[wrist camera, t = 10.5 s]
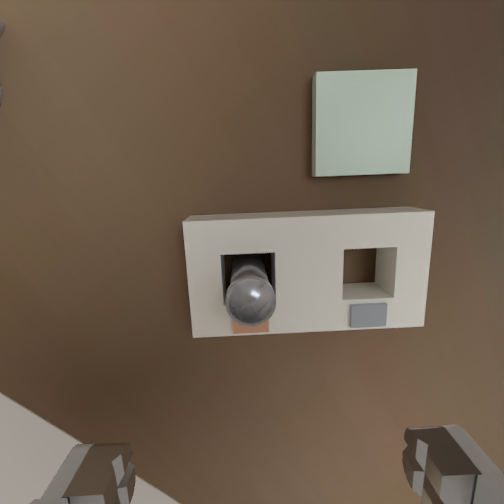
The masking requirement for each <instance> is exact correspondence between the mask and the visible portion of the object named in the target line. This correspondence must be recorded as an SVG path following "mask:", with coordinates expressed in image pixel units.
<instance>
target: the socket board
mask: <svg viewBox="0 0 504 504" xmlns="http://www.w3.org/2000/svg"><path fill="white" fill-rule="evenodd" d="M434 215H435V211H432V210H426V209H421V208H415V207H410V206H405V207H381V208H357V209H333V210H309V211H285V212H261V213H237V214H214V215H190V216H189V217H188V218H187V219H185V220H184V221H183V222H182V223H183V234H184V245H185V256H186V267H187V278H188V289H189V300H190V311H191V322H192V333H193V338H199V337H219V336H239V335H259V334H279V333H299V332H320V331H340V330H360V329H380V328H400V327H420V326H424V317H425V307H426V297H427V287H428V277H429V266H430V256H431V246H432V236H433V226H434ZM364 248H377V251H376V268H375V282H368V283H346V284H343V262H344V249H364ZM252 253H271V276H272V287H273V290H274V293H275V297H276V308H275V311H274V313H273V315H272V316H271V317H270V318H269V319H268V320H267V321H266V322H264V323H263V324H260V325H257V326H244V325H241V324H238V323H237V322H235V321H234V320H233V319H232V318H231V317H230V316H229V314H228V312H227V310H226V305H225V301H226V294H227V290H228V289H226V280H225V264H224V255H229V254H252Z"/></svg>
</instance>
